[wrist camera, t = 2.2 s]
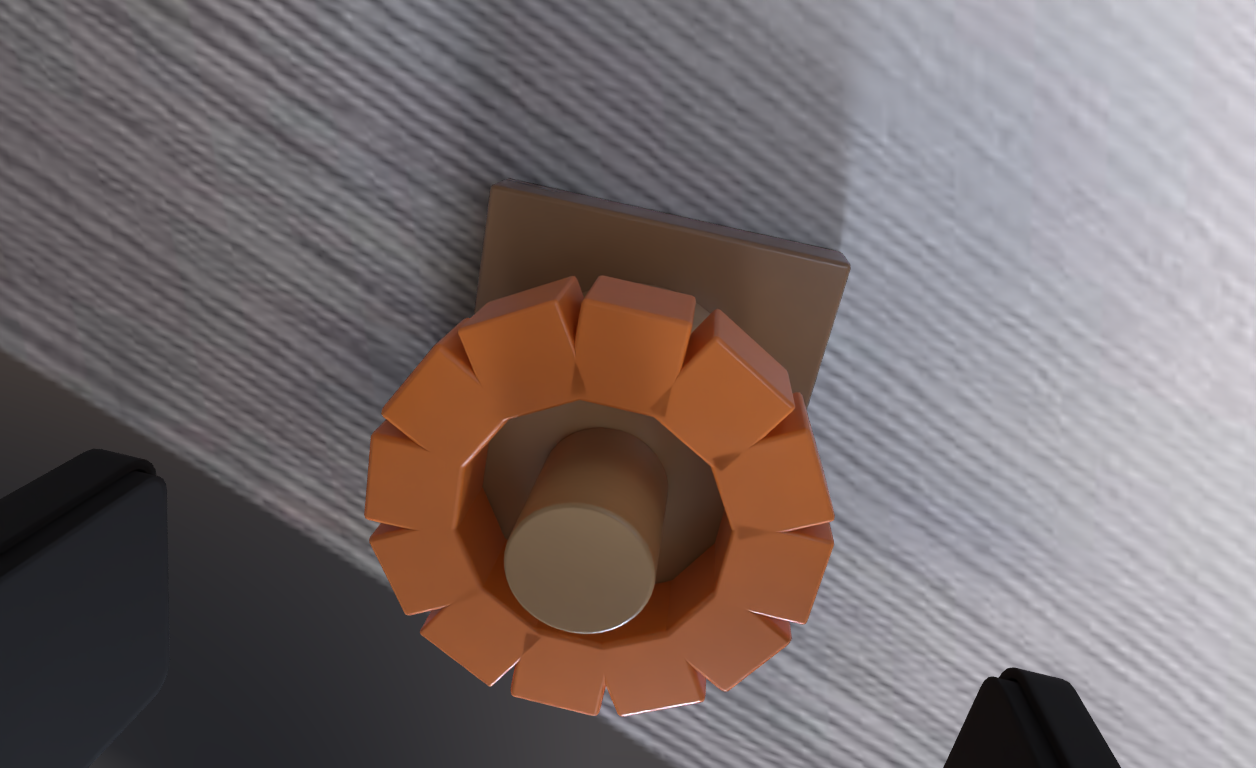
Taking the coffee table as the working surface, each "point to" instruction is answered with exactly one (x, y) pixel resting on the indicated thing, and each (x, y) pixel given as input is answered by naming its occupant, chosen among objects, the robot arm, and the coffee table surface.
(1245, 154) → the coffee table surface
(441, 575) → the ring
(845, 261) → the post
